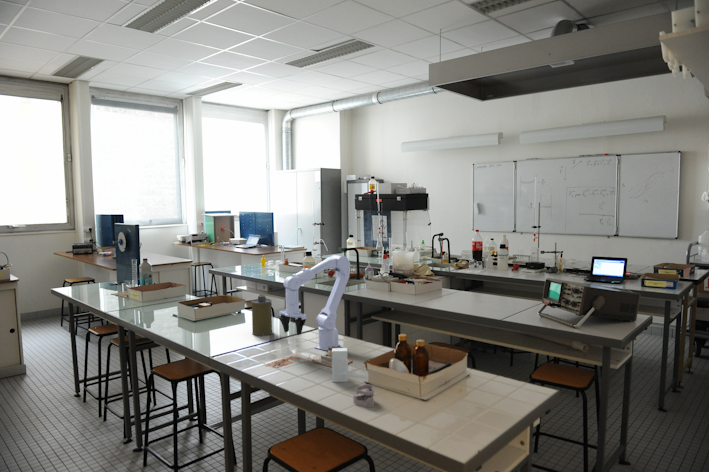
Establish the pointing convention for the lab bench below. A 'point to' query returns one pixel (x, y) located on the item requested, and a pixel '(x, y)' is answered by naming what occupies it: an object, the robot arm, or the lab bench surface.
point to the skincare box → (339, 365)
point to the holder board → (326, 360)
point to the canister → (261, 316)
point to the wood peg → (330, 350)
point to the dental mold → (364, 396)
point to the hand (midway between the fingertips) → (292, 332)
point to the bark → (285, 361)
